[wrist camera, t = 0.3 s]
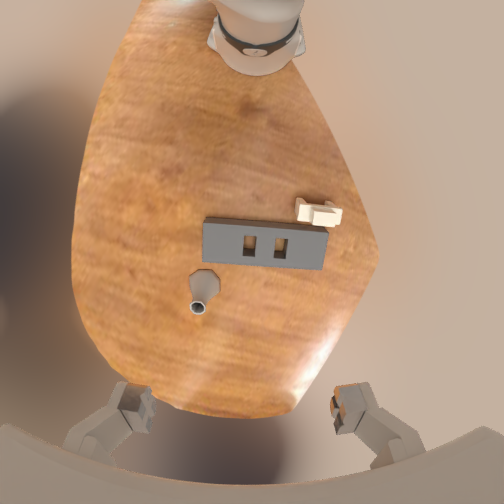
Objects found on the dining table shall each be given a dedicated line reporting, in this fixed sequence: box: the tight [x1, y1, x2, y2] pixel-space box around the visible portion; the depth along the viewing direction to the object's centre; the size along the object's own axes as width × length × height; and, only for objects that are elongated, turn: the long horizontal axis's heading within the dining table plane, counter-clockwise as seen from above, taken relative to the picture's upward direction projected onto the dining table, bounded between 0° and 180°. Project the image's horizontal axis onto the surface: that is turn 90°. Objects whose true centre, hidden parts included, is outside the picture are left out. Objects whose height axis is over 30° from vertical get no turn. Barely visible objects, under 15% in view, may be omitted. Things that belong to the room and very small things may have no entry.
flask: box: [189, 269, 220, 315], centre depth 56 cm, size 7×7×10 cm
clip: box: [294, 197, 343, 227], centre depth 50 cm, size 3×8×10 cm, turn 85°
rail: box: [202, 217, 329, 270], centre depth 55 cm, size 8×24×4 cm, turn 85°
